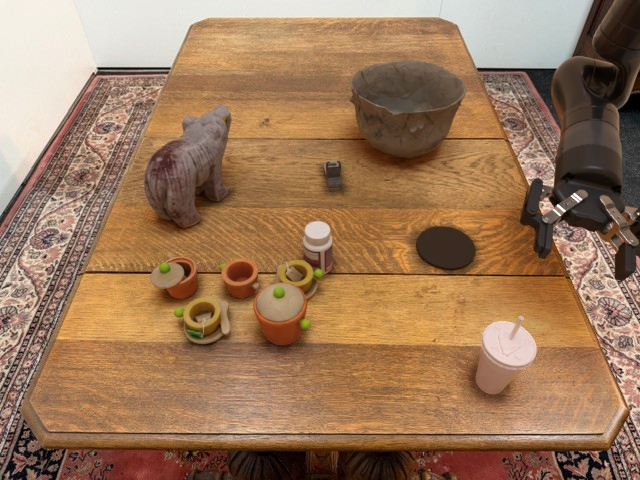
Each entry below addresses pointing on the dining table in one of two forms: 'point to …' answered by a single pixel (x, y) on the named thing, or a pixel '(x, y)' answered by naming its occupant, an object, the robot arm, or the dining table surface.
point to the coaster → (445, 248)
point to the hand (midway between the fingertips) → (583, 266)
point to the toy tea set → (241, 280)
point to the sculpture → (189, 167)
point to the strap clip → (333, 175)
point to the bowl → (406, 105)
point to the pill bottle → (318, 246)
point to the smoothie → (503, 354)
